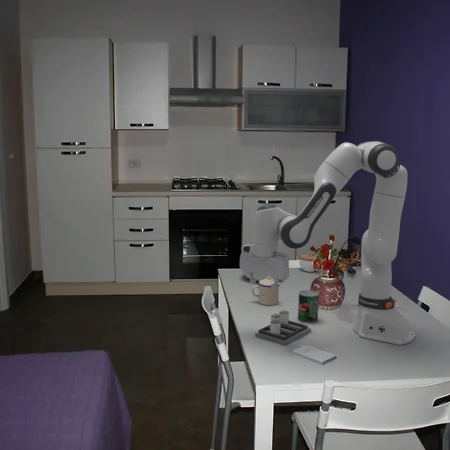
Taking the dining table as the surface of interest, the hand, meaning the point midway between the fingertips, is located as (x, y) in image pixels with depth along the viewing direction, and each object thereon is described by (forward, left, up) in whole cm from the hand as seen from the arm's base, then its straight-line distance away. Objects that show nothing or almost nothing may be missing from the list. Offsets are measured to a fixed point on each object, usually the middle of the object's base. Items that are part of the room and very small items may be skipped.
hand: (263, 286), depth 208 cm
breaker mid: (-3, -5, -17) cm, 18 cm away
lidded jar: (+33, -90, -19) cm, 98 cm away
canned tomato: (-5, -25, -19) cm, 32 cm away
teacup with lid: (+20, -31, -19) cm, 41 cm away
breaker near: (-3, -11, -17) cm, 20 cm away
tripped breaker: (-6, 0, -17) cm, 18 cm away
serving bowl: (+42, -60, -19) cm, 76 cm away
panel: (-6, -5, -18) cm, 20 cm away
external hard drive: (-25, +4, -19) cm, 32 cm away
